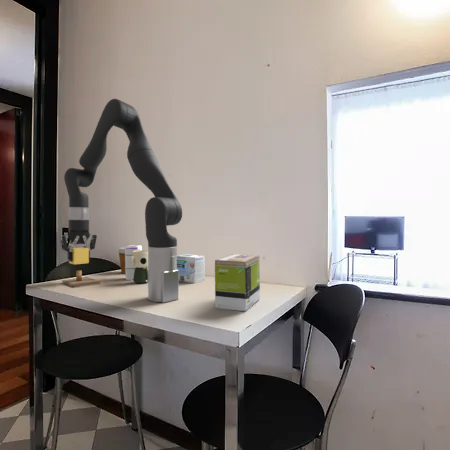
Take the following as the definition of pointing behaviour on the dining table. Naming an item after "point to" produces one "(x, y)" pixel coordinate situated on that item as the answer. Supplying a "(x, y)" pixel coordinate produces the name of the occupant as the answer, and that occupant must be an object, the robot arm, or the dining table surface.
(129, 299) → the dining table surface
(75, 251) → the yellow cube
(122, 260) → the disposable coffee cup
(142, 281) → the character mug
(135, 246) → the syrup box
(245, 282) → the tea box
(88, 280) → the post block
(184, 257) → the light bulb box
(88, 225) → the robot arm
